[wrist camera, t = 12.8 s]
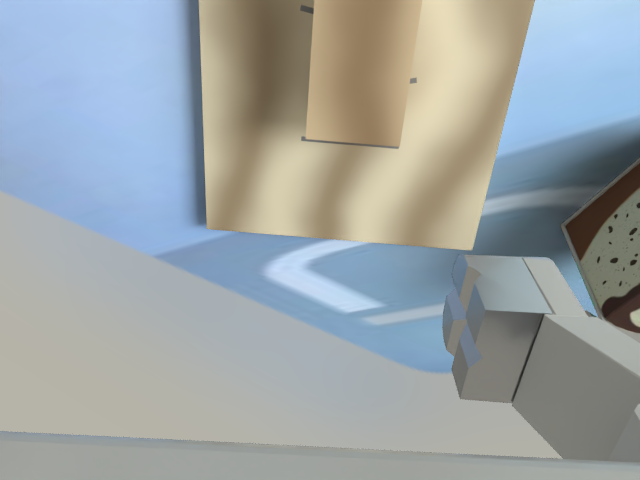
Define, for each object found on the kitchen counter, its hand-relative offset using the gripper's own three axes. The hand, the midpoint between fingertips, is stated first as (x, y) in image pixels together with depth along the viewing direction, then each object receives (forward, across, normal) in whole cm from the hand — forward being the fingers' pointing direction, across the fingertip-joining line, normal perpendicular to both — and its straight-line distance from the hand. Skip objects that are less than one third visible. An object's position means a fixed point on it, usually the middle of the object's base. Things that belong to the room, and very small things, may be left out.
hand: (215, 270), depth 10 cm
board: (+26, -4, +6) cm, 27 cm away
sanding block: (+25, -4, +2) cm, 25 cm away
